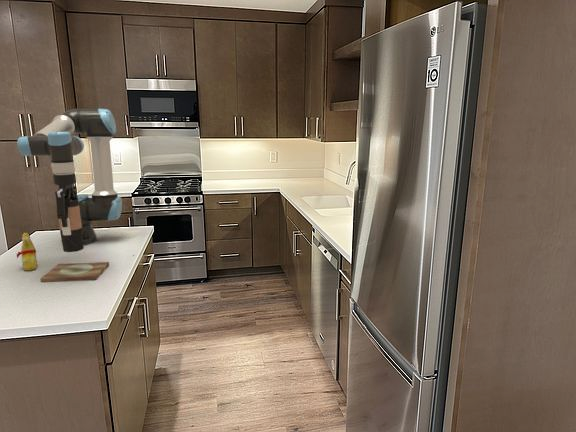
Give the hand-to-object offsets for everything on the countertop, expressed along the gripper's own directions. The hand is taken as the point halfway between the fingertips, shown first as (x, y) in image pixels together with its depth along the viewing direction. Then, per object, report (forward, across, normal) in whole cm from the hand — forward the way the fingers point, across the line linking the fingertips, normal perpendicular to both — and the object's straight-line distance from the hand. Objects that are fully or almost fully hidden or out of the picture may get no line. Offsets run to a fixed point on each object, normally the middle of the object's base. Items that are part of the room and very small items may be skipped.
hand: (71, 231), depth 159 cm
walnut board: (+17, 0, 0) cm, 17 cm away
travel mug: (+7, 0, 0) cm, 7 cm away
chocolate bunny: (+17, -9, -23) cm, 30 cm away
